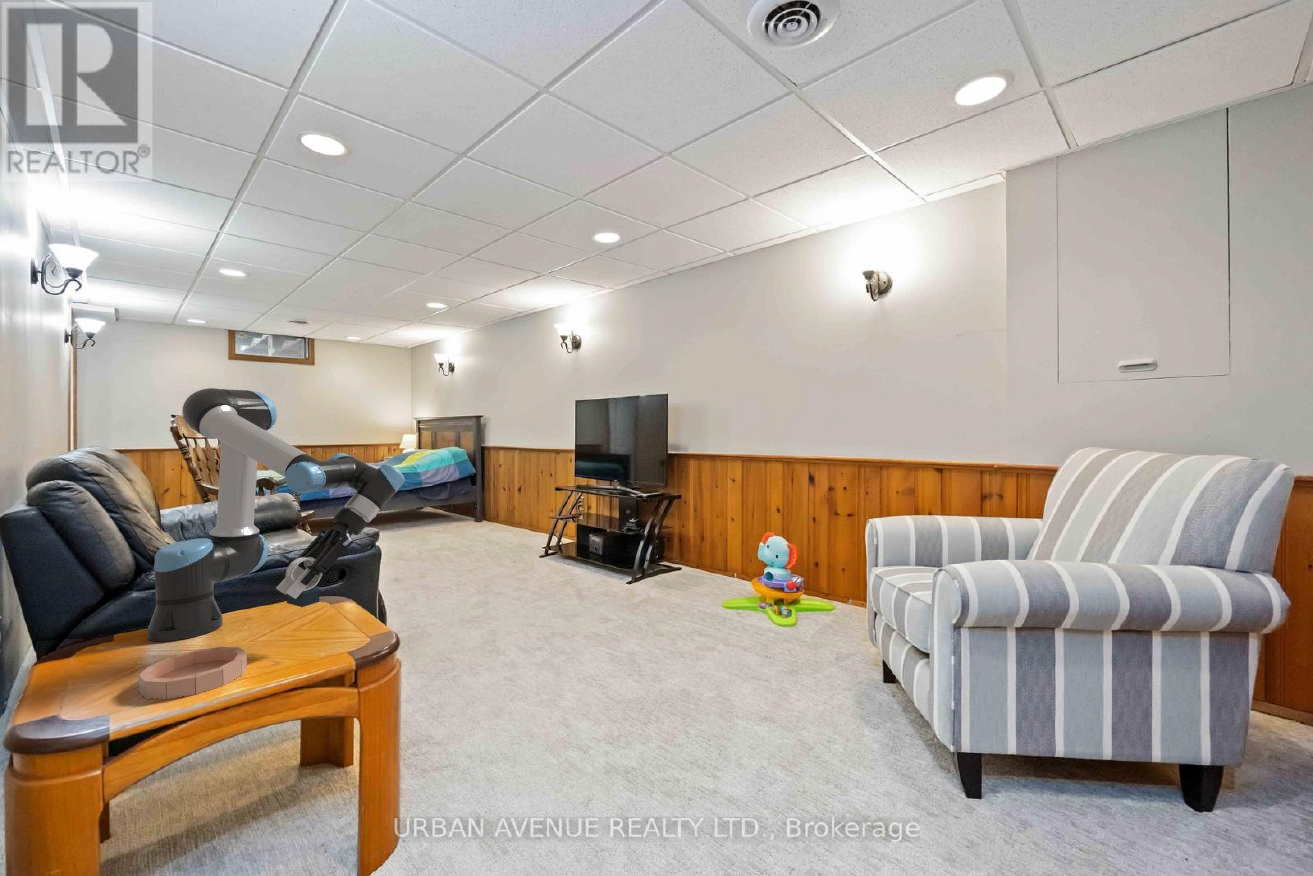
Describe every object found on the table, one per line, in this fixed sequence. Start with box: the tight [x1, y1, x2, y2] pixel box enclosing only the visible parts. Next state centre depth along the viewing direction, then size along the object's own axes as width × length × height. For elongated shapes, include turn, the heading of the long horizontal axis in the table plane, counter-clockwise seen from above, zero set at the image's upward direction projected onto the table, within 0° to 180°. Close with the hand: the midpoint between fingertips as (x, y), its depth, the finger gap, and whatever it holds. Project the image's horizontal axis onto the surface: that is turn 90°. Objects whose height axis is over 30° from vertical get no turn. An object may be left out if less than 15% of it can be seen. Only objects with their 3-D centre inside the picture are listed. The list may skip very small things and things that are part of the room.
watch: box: [284, 557, 323, 608], centre depth 134 cm, size 6×8×11 cm
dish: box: [138, 646, 248, 700], centre depth 117 cm, size 17×17×4 cm
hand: (285, 593), depth 131 cm, fingers closed on watch, 5 cm apart
